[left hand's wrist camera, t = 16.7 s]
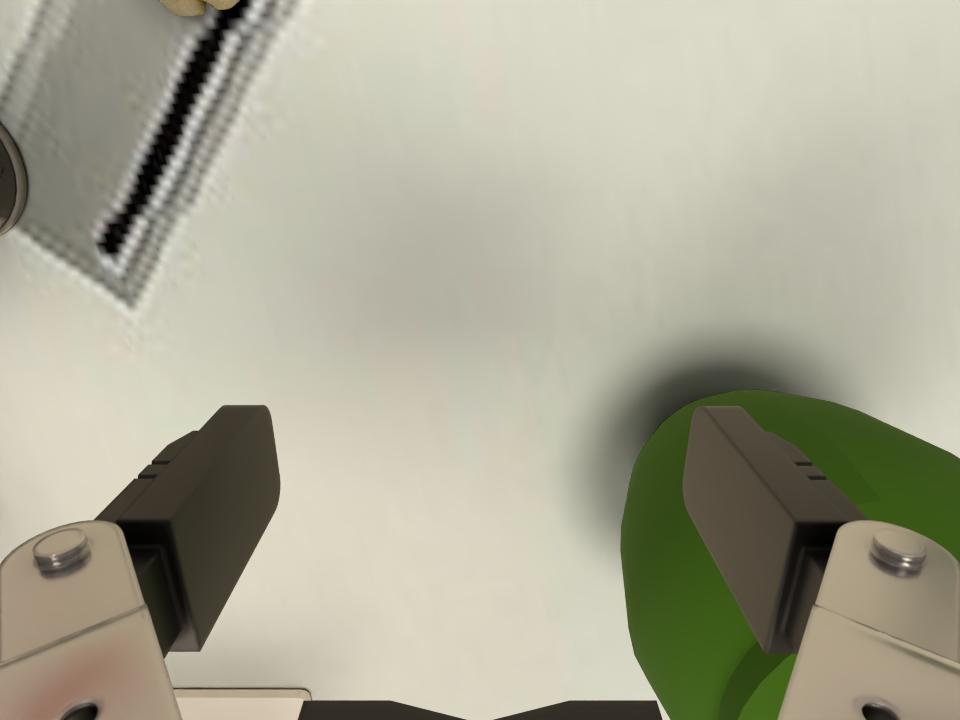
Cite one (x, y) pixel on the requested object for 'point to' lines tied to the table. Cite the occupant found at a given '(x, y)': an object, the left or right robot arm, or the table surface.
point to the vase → (695, 576)
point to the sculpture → (195, 6)
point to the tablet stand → (240, 704)
